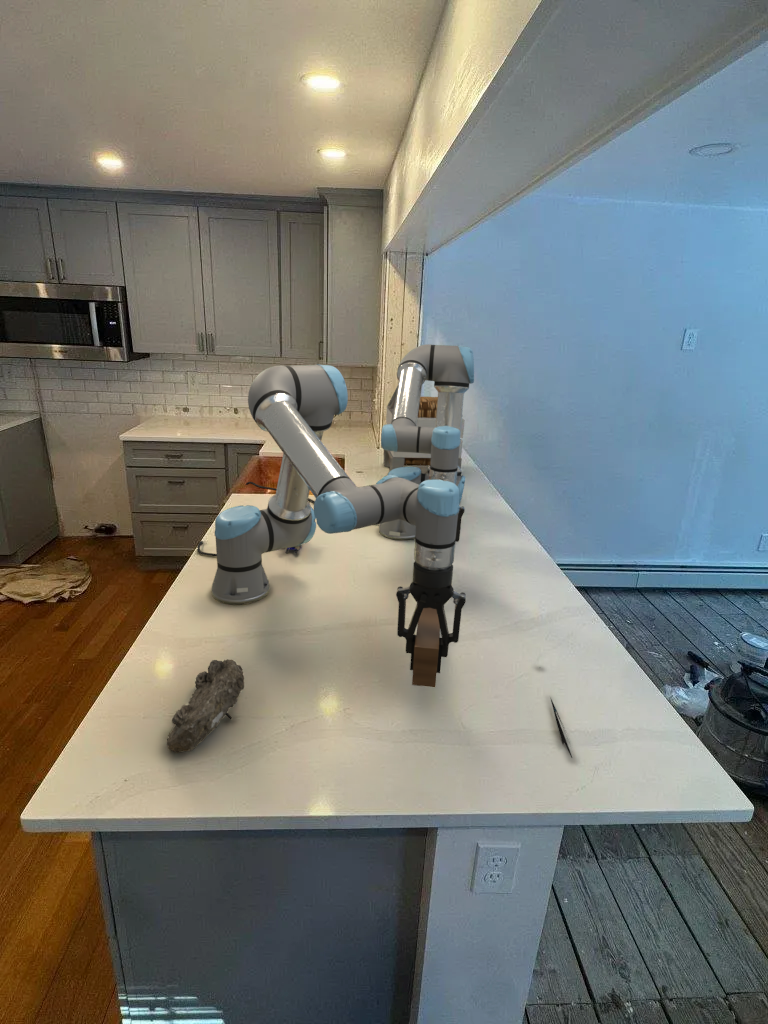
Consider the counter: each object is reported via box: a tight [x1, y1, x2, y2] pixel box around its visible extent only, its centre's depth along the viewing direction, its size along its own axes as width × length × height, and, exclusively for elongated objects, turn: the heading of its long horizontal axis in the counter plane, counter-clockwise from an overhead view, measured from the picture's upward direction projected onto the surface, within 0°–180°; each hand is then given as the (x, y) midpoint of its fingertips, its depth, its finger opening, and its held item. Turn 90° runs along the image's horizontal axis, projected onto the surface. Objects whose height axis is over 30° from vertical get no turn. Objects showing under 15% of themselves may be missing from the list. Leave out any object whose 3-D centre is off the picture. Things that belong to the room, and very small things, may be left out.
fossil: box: [166, 658, 245, 754], centre depth 106 cm, size 22×10×15 cm
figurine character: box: [284, 544, 302, 554], centre depth 184 cm, size 7×8×15 cm
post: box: [411, 608, 441, 688], centre depth 137 cm, size 62×5×9 cm, turn 173°
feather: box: [539, 666, 573, 758], centre depth 114 cm, size 2×28×2 cm
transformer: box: [383, 385, 465, 472], centre depth 268 cm, size 34×33×41 cm
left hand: (425, 667), depth 114 cm, fingers closed on post, 5 cm apart
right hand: (436, 561), depth 163 cm, fingers closed on post, 5 cm apart
